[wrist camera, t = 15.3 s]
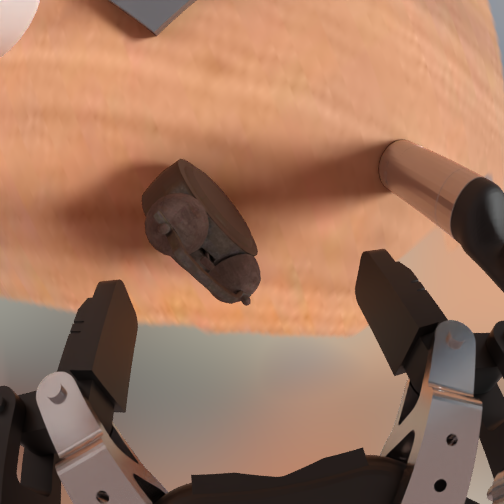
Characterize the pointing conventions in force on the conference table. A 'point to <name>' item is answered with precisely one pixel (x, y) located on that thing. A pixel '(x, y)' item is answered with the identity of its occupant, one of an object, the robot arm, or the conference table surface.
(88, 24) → the conference table surface
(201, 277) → the brown backpack
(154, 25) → the slider console
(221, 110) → the conference table surface
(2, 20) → the cylinder
